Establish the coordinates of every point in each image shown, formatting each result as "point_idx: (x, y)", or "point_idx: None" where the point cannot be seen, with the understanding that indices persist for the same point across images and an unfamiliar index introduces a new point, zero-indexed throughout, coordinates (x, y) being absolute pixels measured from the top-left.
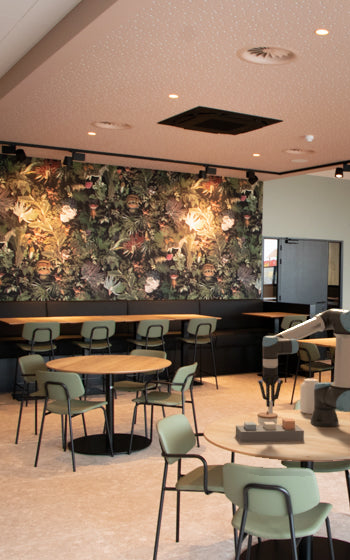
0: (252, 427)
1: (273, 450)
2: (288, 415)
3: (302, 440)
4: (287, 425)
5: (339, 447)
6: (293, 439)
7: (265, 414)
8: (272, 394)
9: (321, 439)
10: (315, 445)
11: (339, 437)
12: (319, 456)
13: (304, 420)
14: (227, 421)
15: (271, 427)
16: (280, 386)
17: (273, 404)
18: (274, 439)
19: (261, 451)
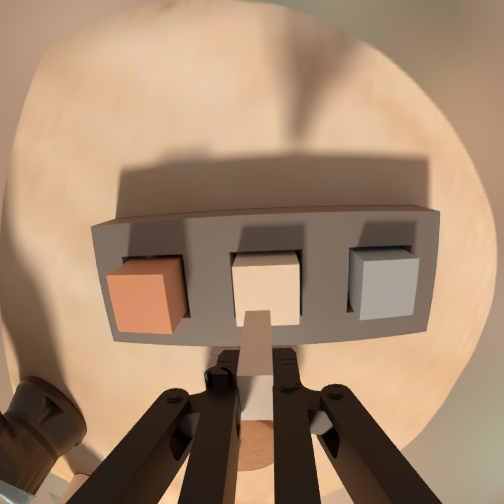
0: (380, 255)
1: (294, 62)
2: None
3: (119, 218)
4: (158, 266)
5: (27, 135)
6: (156, 215)
7: (246, 443)
8: (228, 434)
9: (53, 239)
10: (87, 148)
11: (9, 263)
12: (125, 12)
13: (104, 449)
14: None
15: (261, 260)
16: (72, 501)
17: (226, 362)
18: (254, 209)
19: (352, 55)
